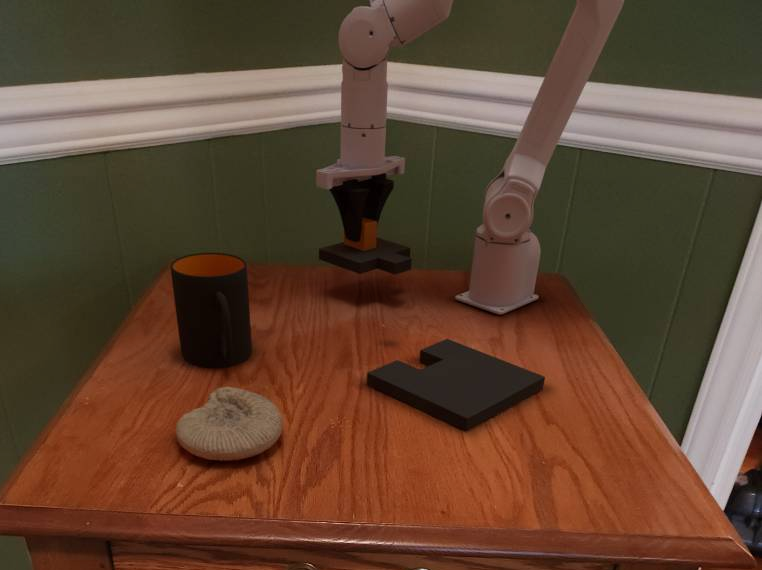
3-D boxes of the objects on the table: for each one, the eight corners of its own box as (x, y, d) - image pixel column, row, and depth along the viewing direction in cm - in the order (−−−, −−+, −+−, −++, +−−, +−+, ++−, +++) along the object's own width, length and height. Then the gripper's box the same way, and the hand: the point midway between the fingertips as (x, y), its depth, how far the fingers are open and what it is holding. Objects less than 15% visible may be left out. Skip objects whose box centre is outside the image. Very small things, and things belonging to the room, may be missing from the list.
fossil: (183, 373, 73) (283, 383, 74) (183, 407, 75) (280, 416, 76) (169, 428, 64) (283, 438, 65) (170, 464, 66) (280, 473, 68)
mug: (195, 386, 79) (184, 292, 73) (175, 343, 88) (164, 255, 82) (269, 376, 82) (264, 284, 75) (242, 335, 91) (236, 249, 84)
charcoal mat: (445, 350, 89) (447, 338, 88) (542, 389, 81) (545, 376, 80) (366, 384, 81) (366, 372, 80) (465, 431, 73) (467, 418, 72)
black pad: (369, 245, 106) (370, 208, 103) (427, 264, 100) (430, 226, 97) (318, 259, 100) (318, 221, 97) (377, 280, 94) (379, 240, 91)
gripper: (379, 115, 98) (375, 222, 106) (299, 126, 89) (301, 241, 98) (419, 122, 94) (411, 232, 102) (338, 135, 86) (337, 253, 94)
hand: (360, 237), depth 100 cm, fingers closed on black pad, 2 cm apart
